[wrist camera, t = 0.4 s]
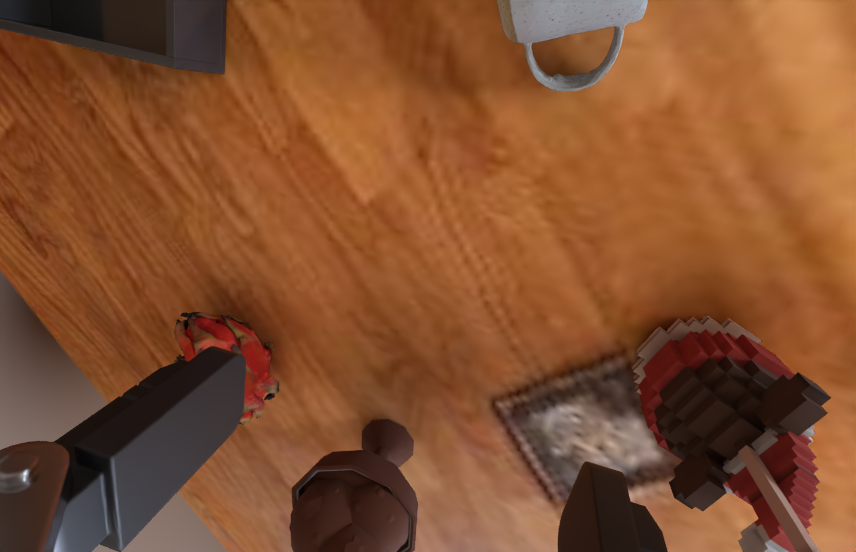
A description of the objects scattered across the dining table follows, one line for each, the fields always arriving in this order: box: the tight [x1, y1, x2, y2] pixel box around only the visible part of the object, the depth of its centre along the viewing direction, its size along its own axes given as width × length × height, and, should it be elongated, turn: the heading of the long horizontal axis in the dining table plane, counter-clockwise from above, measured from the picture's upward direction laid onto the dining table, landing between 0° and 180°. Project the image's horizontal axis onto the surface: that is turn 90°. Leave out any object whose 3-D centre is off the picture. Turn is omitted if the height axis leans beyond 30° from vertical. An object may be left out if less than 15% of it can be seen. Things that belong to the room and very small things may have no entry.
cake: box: [632, 315, 831, 552], centre depth 29 cm, size 11×9×18 cm
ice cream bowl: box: [289, 420, 418, 552], centre depth 39 cm, size 11×11×15 cm
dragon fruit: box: [174, 312, 279, 425], centre depth 43 cm, size 8×8×12 cm
